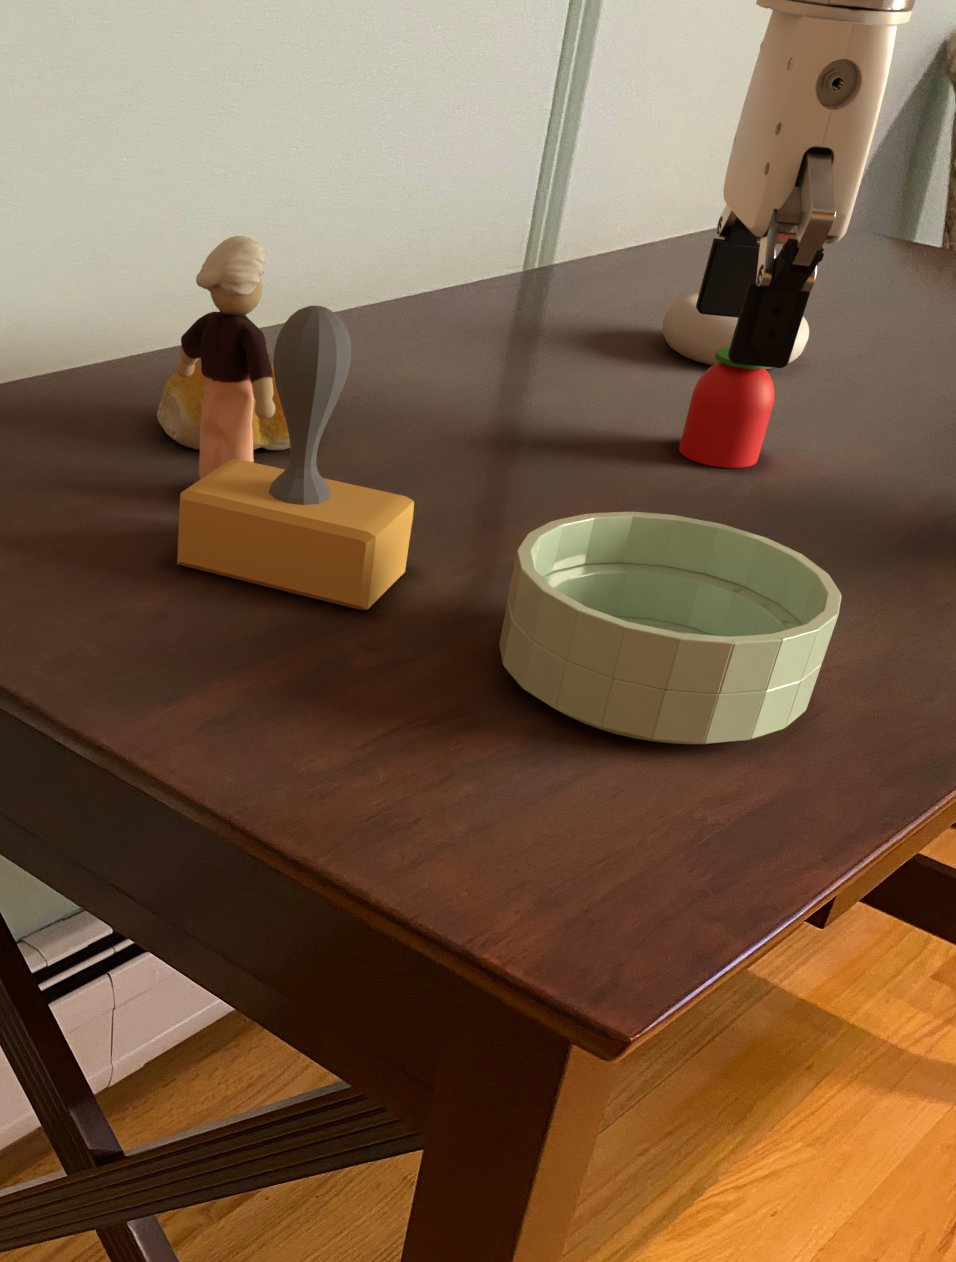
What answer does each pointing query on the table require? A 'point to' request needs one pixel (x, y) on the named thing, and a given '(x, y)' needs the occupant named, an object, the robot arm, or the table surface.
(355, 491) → the rubber stamp
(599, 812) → the table surface
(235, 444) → the grandmother figurine
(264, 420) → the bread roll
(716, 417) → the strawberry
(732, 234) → the robot arm
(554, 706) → the bowl
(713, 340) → the donut
